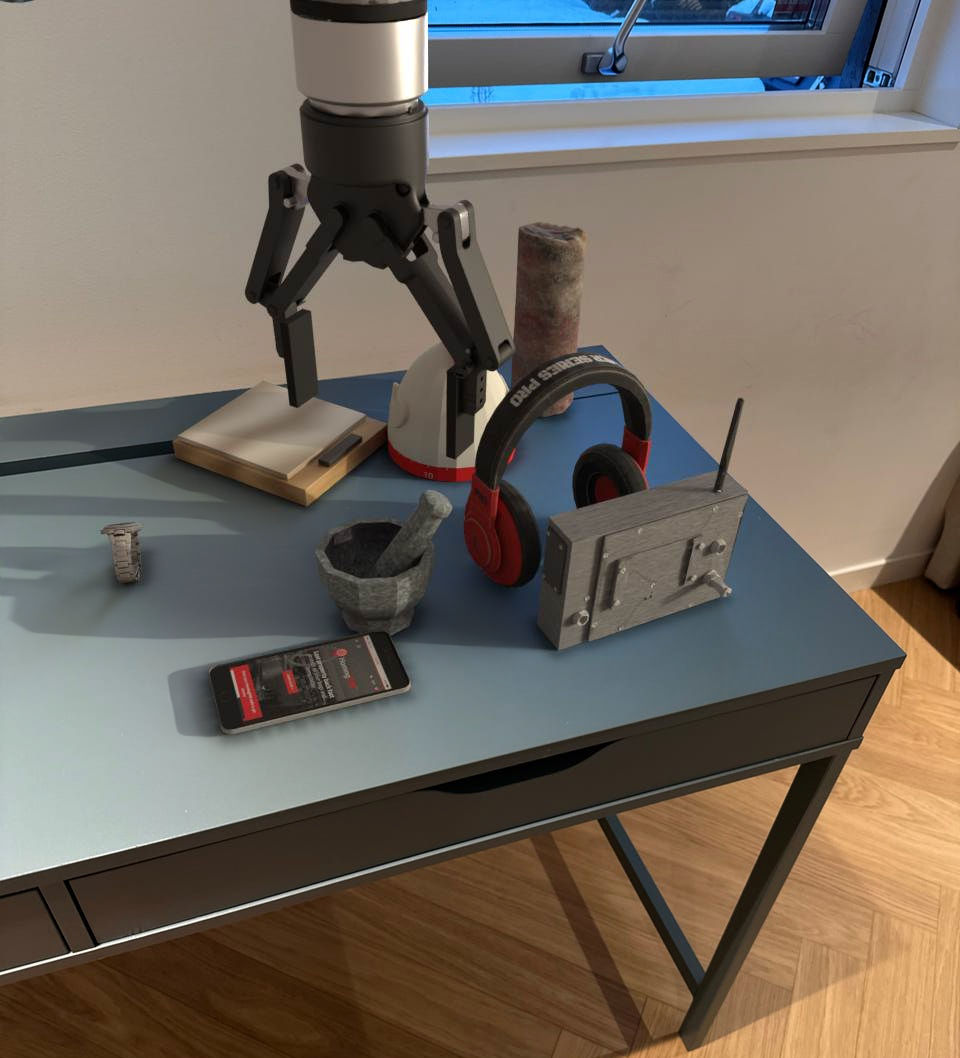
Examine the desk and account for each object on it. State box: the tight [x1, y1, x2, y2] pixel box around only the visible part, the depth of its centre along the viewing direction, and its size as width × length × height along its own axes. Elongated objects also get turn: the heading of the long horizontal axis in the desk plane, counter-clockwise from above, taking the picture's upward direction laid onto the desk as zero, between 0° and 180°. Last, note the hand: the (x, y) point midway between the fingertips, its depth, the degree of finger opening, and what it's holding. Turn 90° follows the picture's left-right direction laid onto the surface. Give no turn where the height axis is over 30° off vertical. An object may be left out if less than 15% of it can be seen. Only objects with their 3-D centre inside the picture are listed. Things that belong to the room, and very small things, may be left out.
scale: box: [172, 380, 388, 507], centre depth 100 cm, size 17×15×3 cm
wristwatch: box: [100, 521, 143, 584], centre depth 83 cm, size 4×6×5 cm, turn 12°
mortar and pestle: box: [314, 489, 453, 637], centre depth 78 cm, size 11×9×12 cm
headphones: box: [462, 351, 653, 589], centre depth 82 cm, size 18×10×20 cm, turn 122°
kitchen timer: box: [387, 341, 516, 483], centre depth 97 cm, size 14×14×15 cm
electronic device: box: [536, 397, 749, 651], centre depth 76 cm, size 17×7×20 cm, turn 117°
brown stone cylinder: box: [510, 221, 588, 418], centre depth 103 cm, size 8×7×20 cm
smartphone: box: [208, 631, 412, 735], centre depth 75 cm, size 7×1×15 cm
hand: (379, 424), depth 69 cm, fingers open, 13 cm apart
